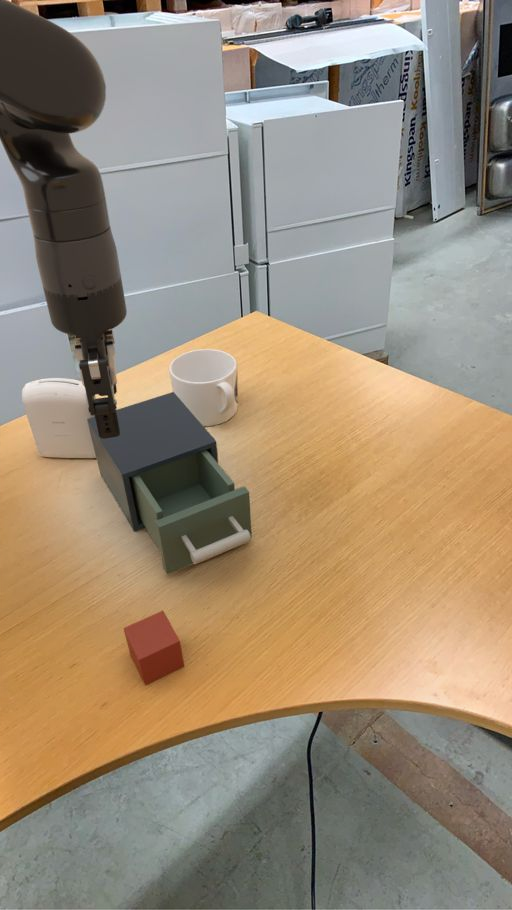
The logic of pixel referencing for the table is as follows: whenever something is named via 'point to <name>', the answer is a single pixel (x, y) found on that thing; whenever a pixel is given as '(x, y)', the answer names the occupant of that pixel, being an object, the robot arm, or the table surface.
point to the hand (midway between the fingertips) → (108, 414)
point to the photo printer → (59, 417)
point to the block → (154, 647)
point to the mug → (206, 384)
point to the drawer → (191, 510)
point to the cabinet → (147, 445)
